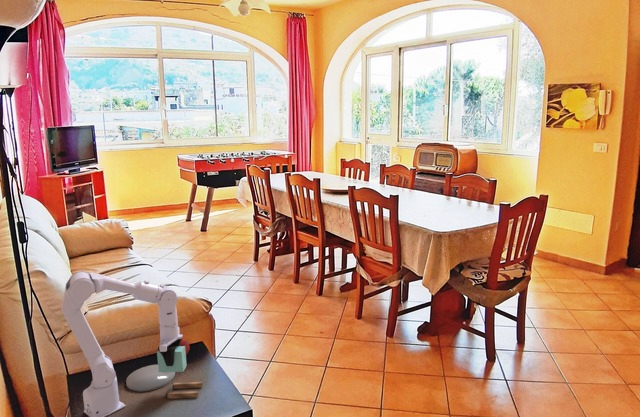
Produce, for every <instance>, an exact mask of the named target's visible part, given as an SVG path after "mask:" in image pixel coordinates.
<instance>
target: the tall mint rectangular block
mask: <svg viewBox="0 0 640 417" xmlns="http://www.w3.org/2000/svg"><path fill="white" fill-rule="evenodd" d="M156 356H157V358H156V359H157V365H158V369H159V373H160V372H175V373H183V372H184V371H185V370H186V368H187V354H186V352H185V346H177V347H176V349H175V353H174V364H173V366H166V363H165V361H164V358H163V356H162V355H161V353H160V352H159V351H158V350H157V352H156Z"/></svg>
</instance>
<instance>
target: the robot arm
mask: <svg viewBox="0 0 640 417" xmlns="http://www.w3.org/2000/svg"><path fill="white" fill-rule="evenodd" d="M105 290H106V291H111V292H118V293H123V294H128V295H132V297H133V300H138V301H142V302H146V303H150V304H151V303H152V304H157V306H158V307H157V309H158V311H157V313H158V323H159V334H160V335H159V336H160V338H159V342H160V343H159V346H158V347H157V352H158V351H159V352H160V353H161V355H162V356H163V358H164V361H165V363H166V366H173V364H174V353H175V349H176V347H177V346H180V343H181V340H182V339H183V336H184V335H183V334H180V333H181V331H180V326H179V320H178V309H177V303H178V300H179V297H178V296H177V293H176V292H175V291H174V290H173V289H172V288H171V287H170V286H168V285H167V284H166V285H165V284H164V285H163V284H160V285H157V284H154V283H150V281H149V280H146V279H145V280H143V281H141V280H139V281H138V282H136V283H132V282H129V281H125V280H122V279H118V278H116V277H111V276H107V275H104V274H101V273H96V272H87V271H86V270H77V271H75V272H74V273H72V274H71V276H69V279H68V280H67V282H66V283H65V288H64V292H63V297H62V302H61V312H62V314H63V317H64V319H65V320H66V322H67V324H68V326H69V328H70V330H71V331H72V334H73V336H74V338H75V340H76V342H77V343H78V345H79V347H80V350H81V351H82V353H83V354H84V357H85V359H86V360H87V363H88V365H89V368H90V371H91V374H92V375H91V376H92V380H91V382H90V385H89V386H88V387H87V388H85V389H83V392H82V398H83V399H82V400H83V406H84V410H83V414H86V415H87V416H88V417H107V416H109V415H111V414H113V413H115V412H117V411H119V410H121V409H123V408H125V407H126V404H125V403H124V402H122V401H120V395H119V394H120V393H119V387H118V386H119V385H118V378H117V374H116V371H115V369H114V365H113V364H114V363H113V360H112V358H111V357H110V356H107V355H106V354H105V352H104V350H103V349H102V347H101V345H100V344H99V342H98V340H97V338H96V336H95V334H94V332H93V330H92V328H91V326H90V324H89V322H88V320H87V318H86V316H85V314H84V313H83V311H82V308H83V306H84V305H85V304H84V303H85V302H86V301H87V300H88V299H89V298H90V297H91V296H92V295H93V294H94V292H95V294H100V293H101V292H104V291H105Z"/></svg>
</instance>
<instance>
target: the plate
mask: <svg viewBox="0 0 640 417" xmlns="http://www.w3.org/2000/svg"><path fill="white" fill-rule="evenodd" d="M175 377H176V372H160V373H159V369H158V364H151V365H147V366H142V367H140V368H138V369H136V370H134V371H133V372H131V373H130V374H129V375H128V376H127V378H126V379H125V380H126V381H125V382H126V383H125V384H126V388H127V389H129V390H131V391H133V392H141V393H142V392H151V391H154V390H155V391H156V390H158V389H161V388H163V387H166V386H167V385H169V384H170V383H171V382H173V381H174V379H175Z"/></svg>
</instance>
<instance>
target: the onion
mask: <svg viewBox="0 0 640 417" xmlns="http://www.w3.org/2000/svg"><path fill="white" fill-rule="evenodd" d="M180 346H185V352H186V355H188V354H189V352H190V343H189V342H188V341H187V340H186V339H184V338H182V340H181V343H180Z"/></svg>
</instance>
